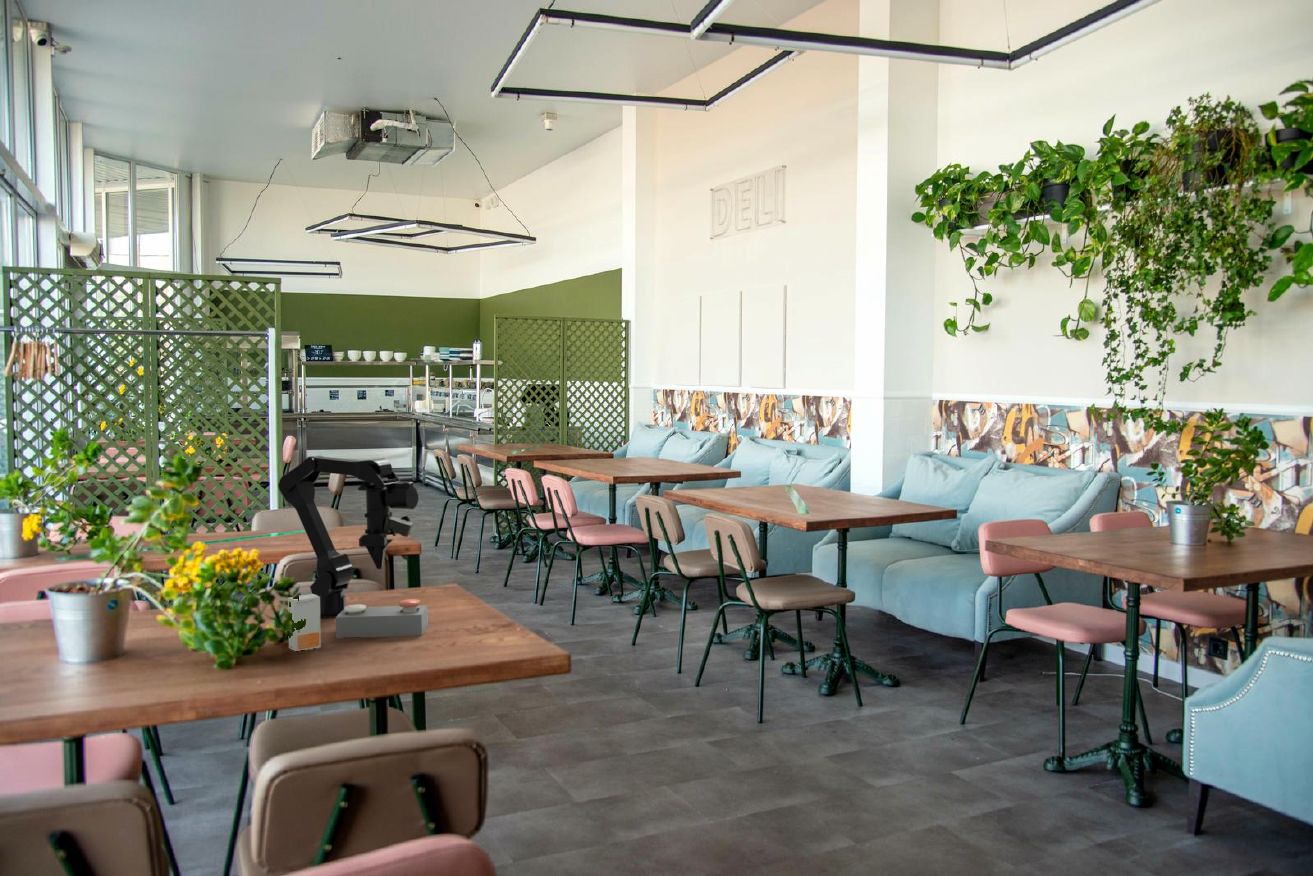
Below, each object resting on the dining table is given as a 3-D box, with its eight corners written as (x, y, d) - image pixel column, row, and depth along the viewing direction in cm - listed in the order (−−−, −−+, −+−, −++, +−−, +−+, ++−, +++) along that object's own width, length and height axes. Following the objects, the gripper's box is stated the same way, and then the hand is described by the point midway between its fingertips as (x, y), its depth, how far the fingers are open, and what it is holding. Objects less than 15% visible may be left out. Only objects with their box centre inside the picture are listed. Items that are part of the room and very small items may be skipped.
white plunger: (342, 630, 229) (342, 609, 229) (347, 624, 234) (346, 604, 234) (364, 629, 229) (363, 608, 229) (368, 624, 234) (367, 604, 234)
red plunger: (397, 624, 230) (397, 604, 230) (401, 619, 235) (400, 599, 235) (419, 624, 231) (418, 603, 230) (422, 619, 236) (421, 599, 235)
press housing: (336, 638, 226) (335, 617, 226) (345, 627, 236) (345, 607, 236) (421, 635, 228) (421, 614, 228) (427, 624, 238) (427, 605, 238)
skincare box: (295, 653, 214) (293, 600, 214) (288, 649, 218) (286, 597, 217) (322, 648, 218) (320, 596, 218) (314, 644, 222) (313, 593, 221)
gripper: (403, 512, 235) (405, 575, 236) (415, 502, 253) (417, 561, 254) (357, 513, 234) (359, 576, 235) (372, 503, 252) (374, 562, 253)
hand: (379, 568), depth 244 cm, fingers closed
